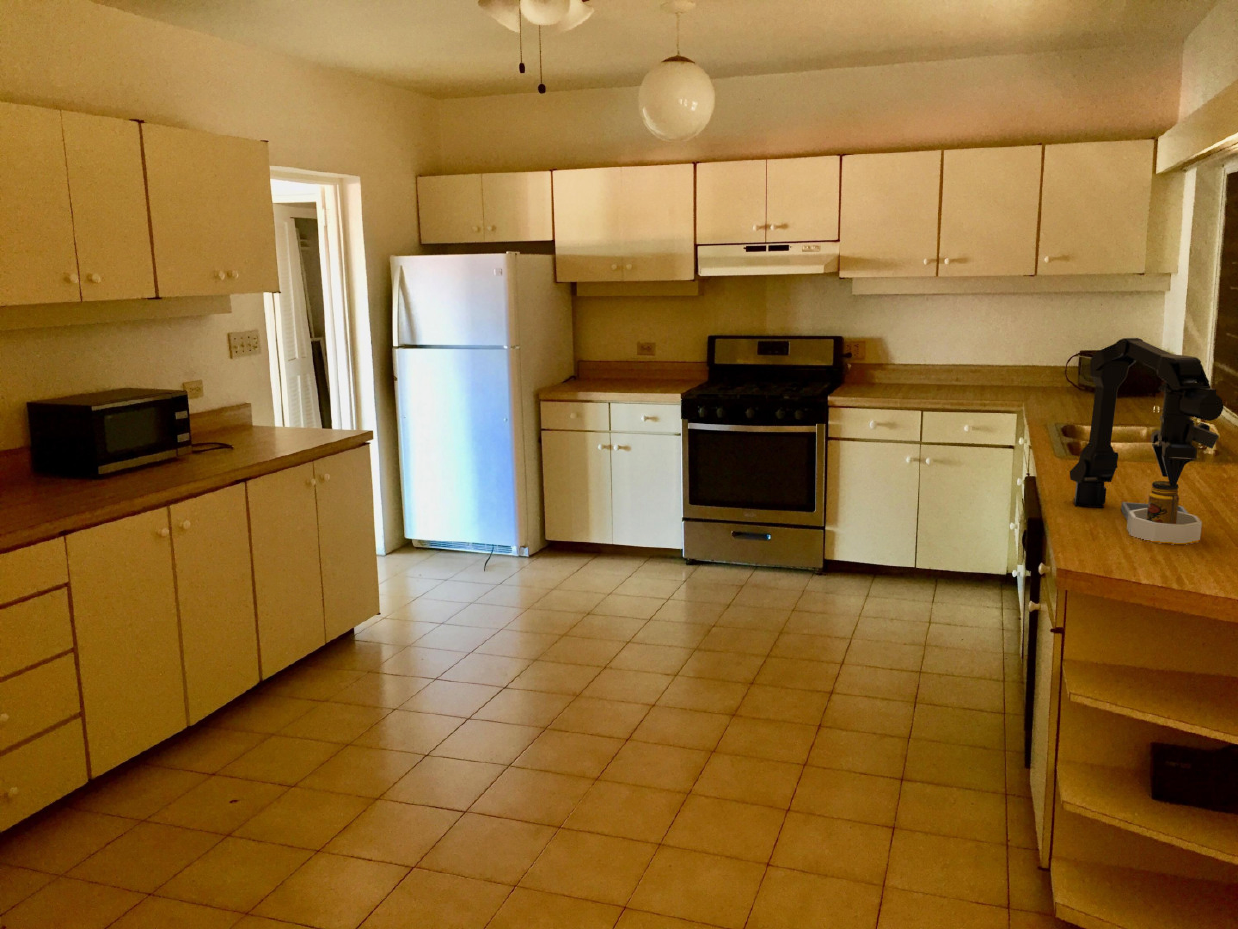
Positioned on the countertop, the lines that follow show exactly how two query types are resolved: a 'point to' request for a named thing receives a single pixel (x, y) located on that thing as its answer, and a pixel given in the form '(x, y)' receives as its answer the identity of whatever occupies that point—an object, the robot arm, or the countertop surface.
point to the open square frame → (1134, 506)
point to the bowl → (1164, 527)
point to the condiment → (1163, 503)
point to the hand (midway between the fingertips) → (1168, 481)
